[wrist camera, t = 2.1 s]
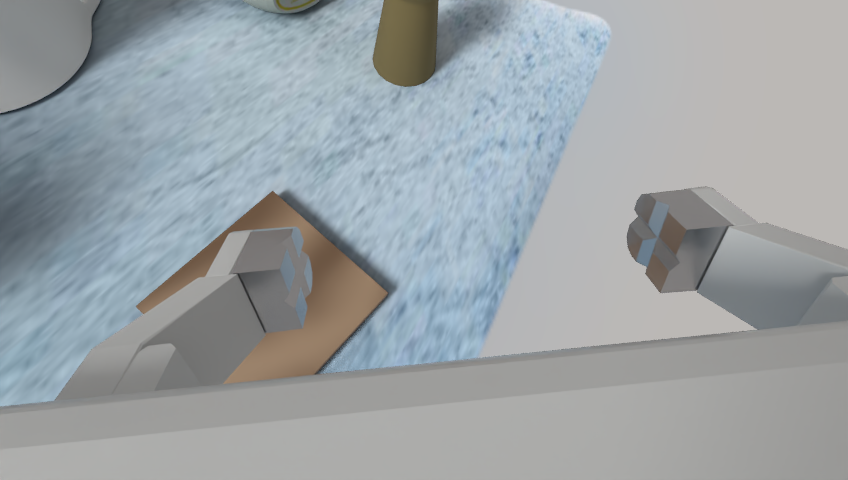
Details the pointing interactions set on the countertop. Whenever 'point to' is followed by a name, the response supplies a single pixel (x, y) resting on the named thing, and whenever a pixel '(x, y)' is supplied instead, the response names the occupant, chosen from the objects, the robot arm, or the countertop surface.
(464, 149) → the countertop surface
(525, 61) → the countertop surface
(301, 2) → the air freshener
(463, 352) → the countertop surface
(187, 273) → the walnut board
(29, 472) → the robot arm
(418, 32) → the cork
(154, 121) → the countertop surface
